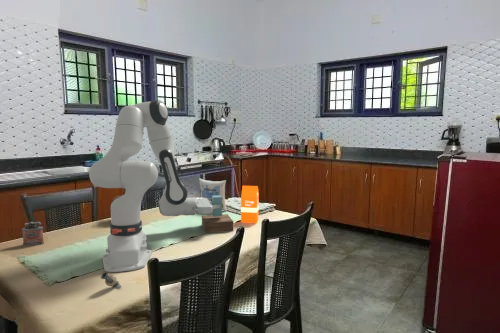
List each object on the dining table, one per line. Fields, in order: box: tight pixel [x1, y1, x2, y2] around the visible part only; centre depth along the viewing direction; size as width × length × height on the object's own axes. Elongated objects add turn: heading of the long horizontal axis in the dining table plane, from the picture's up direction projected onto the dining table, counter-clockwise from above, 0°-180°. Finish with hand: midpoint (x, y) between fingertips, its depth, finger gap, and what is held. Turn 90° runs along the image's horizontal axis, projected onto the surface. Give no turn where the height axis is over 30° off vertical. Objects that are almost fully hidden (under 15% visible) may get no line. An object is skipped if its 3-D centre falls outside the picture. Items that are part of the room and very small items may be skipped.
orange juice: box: [240, 185, 260, 224], centre depth 185 cm, size 8×9×20 cm
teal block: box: [211, 195, 223, 217], centre depth 172 cm, size 4×4×10 cm
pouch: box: [198, 177, 228, 212], centre depth 208 cm, size 8×19×20 cm, turn 65°
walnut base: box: [201, 213, 234, 234], centre depth 173 cm, size 14×14×5 cm
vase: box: [100, 271, 123, 291], centre depth 108 cm, size 5×5×6 cm
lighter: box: [21, 221, 45, 247], centre depth 147 cm, size 8×3×10 cm, turn 105°
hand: (218, 204), depth 172 cm, fingers closed on teal block, 4 cm apart
